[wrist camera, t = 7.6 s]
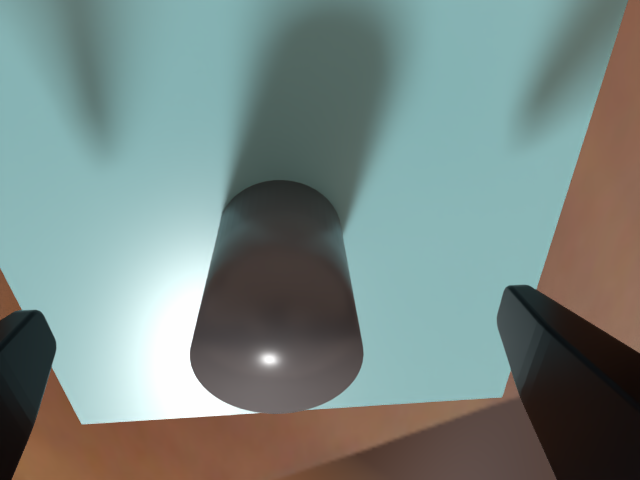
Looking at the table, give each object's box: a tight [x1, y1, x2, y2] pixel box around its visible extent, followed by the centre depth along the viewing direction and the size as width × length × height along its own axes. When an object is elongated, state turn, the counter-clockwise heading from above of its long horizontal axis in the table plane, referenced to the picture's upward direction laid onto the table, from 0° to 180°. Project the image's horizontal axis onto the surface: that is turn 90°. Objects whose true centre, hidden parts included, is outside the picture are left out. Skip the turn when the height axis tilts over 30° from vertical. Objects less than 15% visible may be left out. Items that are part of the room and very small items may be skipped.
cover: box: [0, 0, 628, 424], centre depth 10 cm, size 14×14×5 cm
